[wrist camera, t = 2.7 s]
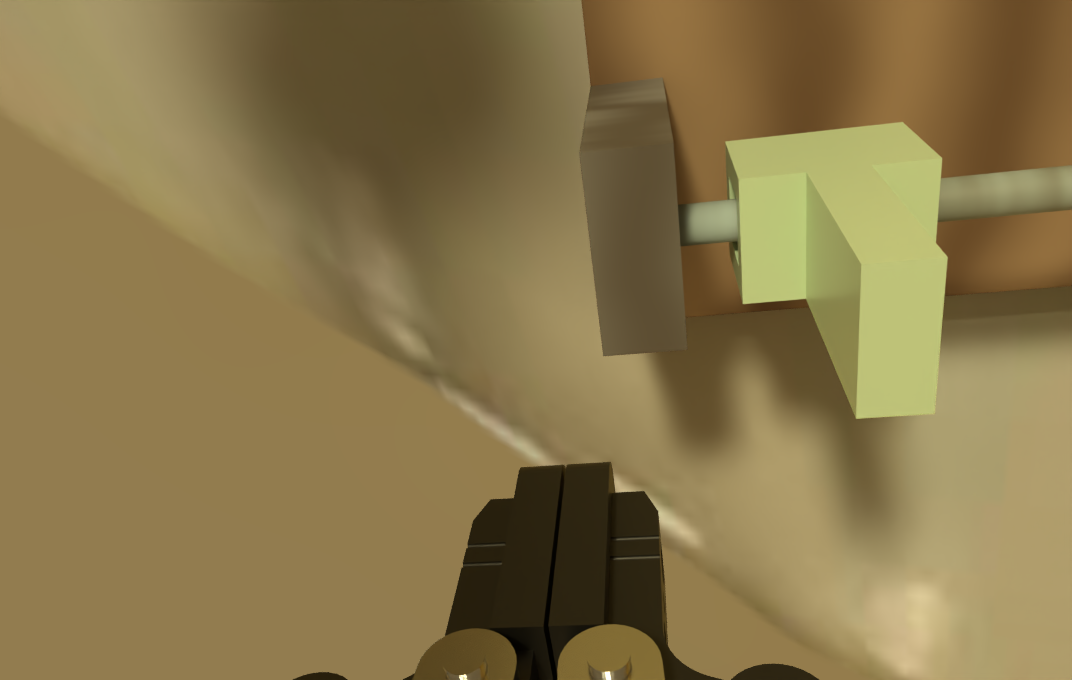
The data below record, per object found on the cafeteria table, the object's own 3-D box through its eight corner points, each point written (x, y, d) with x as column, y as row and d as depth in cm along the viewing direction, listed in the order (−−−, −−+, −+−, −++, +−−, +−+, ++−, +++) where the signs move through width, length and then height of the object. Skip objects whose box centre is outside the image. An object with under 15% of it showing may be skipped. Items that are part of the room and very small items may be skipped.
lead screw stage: (616, 305, 35) (613, 441, 27) (582, -14, 29) (564, 31, 21) (1315, 246, 31) (1565, 383, 23) (1424, -131, 26) (1805, -132, 17)
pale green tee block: (729, 254, 27) (774, 423, 19) (725, 141, 26) (772, 272, 17) (896, 239, 27) (1020, 408, 18) (902, 122, 25) (1041, 248, 17)
